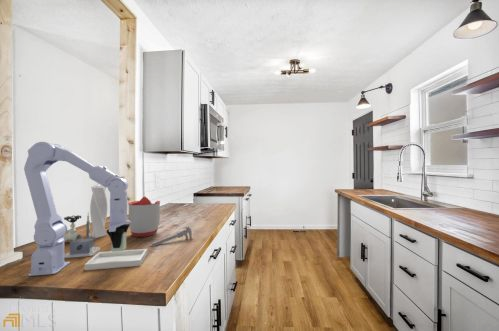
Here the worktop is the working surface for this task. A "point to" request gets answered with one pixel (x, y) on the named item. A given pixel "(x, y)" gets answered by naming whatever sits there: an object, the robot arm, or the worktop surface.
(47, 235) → the robot arm
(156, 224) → the citrus juicer
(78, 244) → the mounted unit
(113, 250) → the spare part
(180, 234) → the caliper
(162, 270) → the worktop surface
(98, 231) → the twisted vase
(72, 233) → the valve
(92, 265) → the parts tray
